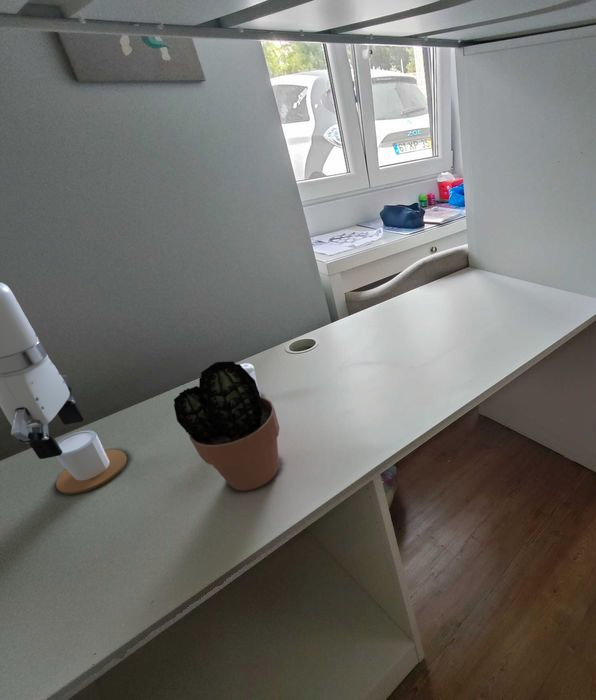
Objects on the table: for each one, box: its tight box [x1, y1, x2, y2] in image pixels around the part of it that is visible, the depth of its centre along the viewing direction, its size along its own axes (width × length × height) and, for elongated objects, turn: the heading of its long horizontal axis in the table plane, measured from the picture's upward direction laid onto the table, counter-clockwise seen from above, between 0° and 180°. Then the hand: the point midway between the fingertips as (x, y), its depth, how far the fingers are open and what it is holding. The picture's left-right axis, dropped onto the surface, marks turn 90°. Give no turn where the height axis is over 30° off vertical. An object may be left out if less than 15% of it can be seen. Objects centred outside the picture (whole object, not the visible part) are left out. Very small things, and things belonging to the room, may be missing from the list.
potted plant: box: [173, 360, 280, 491], centre depth 77 cm, size 14×14×25 cm
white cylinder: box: [54, 429, 109, 481], centre depth 84 cm, size 7×7×7 cm
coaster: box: [55, 449, 128, 495], centre depth 85 cm, size 11×11×1 cm
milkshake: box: [240, 362, 262, 397], centre depth 101 cm, size 4×5×10 cm
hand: (63, 438), depth 81 cm, fingers open, 9 cm apart
